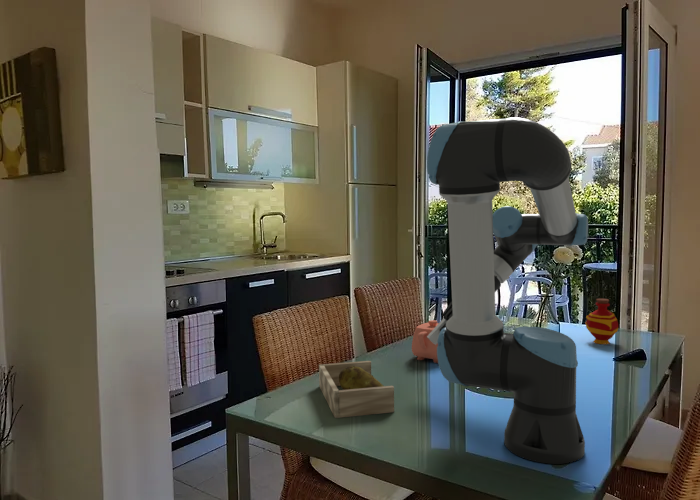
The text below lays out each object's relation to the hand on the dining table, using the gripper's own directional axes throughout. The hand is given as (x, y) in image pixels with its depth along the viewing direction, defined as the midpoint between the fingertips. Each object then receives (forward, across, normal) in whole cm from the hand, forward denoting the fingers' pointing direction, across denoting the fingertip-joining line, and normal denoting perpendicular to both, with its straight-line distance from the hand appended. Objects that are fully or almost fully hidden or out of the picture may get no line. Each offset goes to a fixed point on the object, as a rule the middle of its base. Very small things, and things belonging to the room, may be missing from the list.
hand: (431, 340), depth 140 cm
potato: (+23, -2, +4) cm, 24 cm away
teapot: (0, +29, -18) cm, 34 cm away
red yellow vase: (-45, +30, -61) cm, 81 cm away
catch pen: (+24, 0, +4) cm, 24 cm away
